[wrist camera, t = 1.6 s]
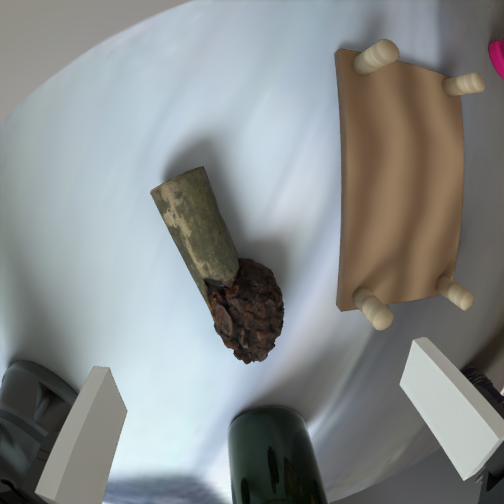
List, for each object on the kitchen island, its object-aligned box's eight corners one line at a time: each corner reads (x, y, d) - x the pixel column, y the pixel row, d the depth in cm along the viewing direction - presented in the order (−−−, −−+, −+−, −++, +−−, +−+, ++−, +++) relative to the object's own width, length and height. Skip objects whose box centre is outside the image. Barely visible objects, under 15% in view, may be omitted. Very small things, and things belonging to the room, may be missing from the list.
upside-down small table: (336, 304, 29) (361, 338, 23) (334, 53, 21) (363, 28, 15) (442, 288, 30) (475, 310, 24) (449, 82, 23) (487, 73, 16)
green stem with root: (155, 188, 24) (137, 194, 19) (225, 157, 24) (226, 154, 19) (232, 348, 29) (235, 383, 24) (292, 324, 29) (307, 356, 24)
